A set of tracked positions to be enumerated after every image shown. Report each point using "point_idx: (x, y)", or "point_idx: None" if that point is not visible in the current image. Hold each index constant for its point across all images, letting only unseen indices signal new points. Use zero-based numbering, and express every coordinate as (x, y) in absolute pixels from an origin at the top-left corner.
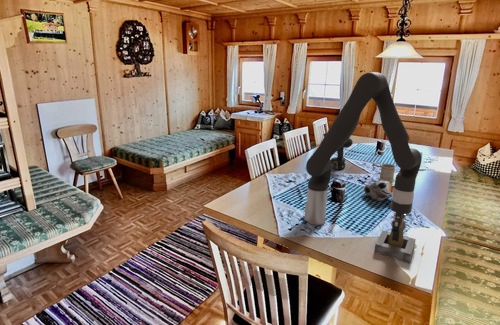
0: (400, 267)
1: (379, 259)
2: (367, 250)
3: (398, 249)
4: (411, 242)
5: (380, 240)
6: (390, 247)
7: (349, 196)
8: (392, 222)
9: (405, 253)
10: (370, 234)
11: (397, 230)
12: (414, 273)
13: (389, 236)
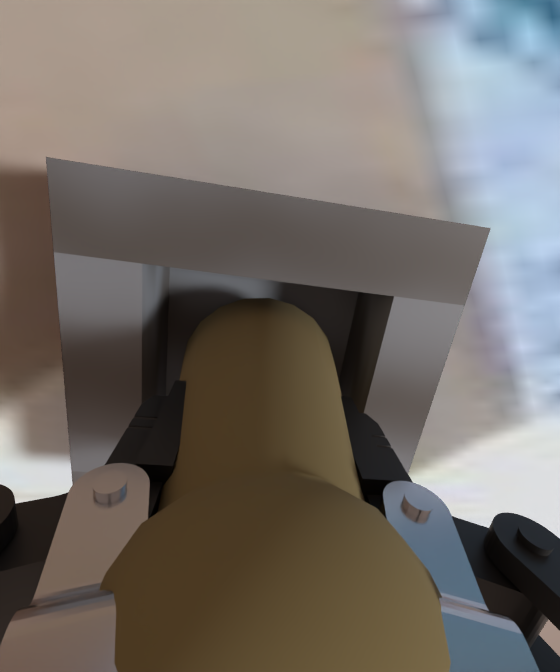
0: (12, 403)
1: (14, 237)
2: (110, 92)
3: (93, 426)
4: None
5: (191, 222)
6: (84, 350)
7: None
8: (183, 646)
9: (76, 477)
10: (485, 96)
11: (1, 629)
12: (2, 484)
13: (257, 340)
